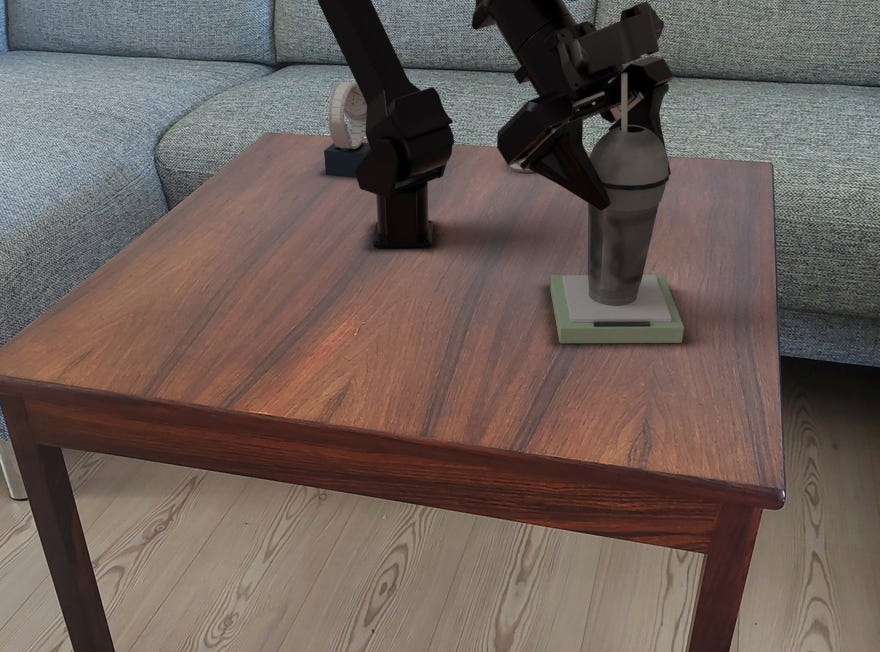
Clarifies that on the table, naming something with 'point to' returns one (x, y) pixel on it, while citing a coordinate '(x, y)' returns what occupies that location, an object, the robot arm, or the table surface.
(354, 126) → the watch
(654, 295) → the scale
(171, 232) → the table surface
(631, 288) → the beverage cup
